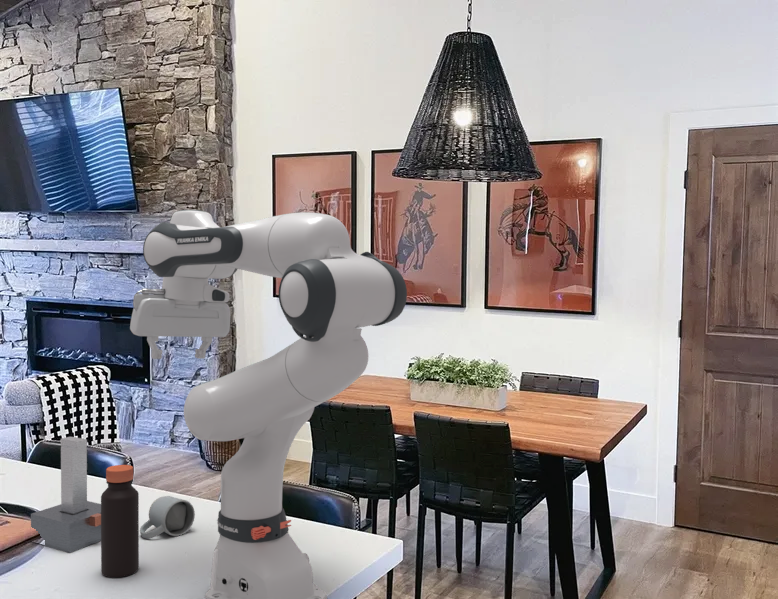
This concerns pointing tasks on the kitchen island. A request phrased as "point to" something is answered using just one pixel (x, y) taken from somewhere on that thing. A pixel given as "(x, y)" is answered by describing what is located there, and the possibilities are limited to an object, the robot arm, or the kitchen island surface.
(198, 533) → the kitchen island surface
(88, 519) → the stand sleeve
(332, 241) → the robot arm
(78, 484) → the column
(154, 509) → the ceramic mug
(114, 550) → the bottle
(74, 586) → the kitchen island surface
